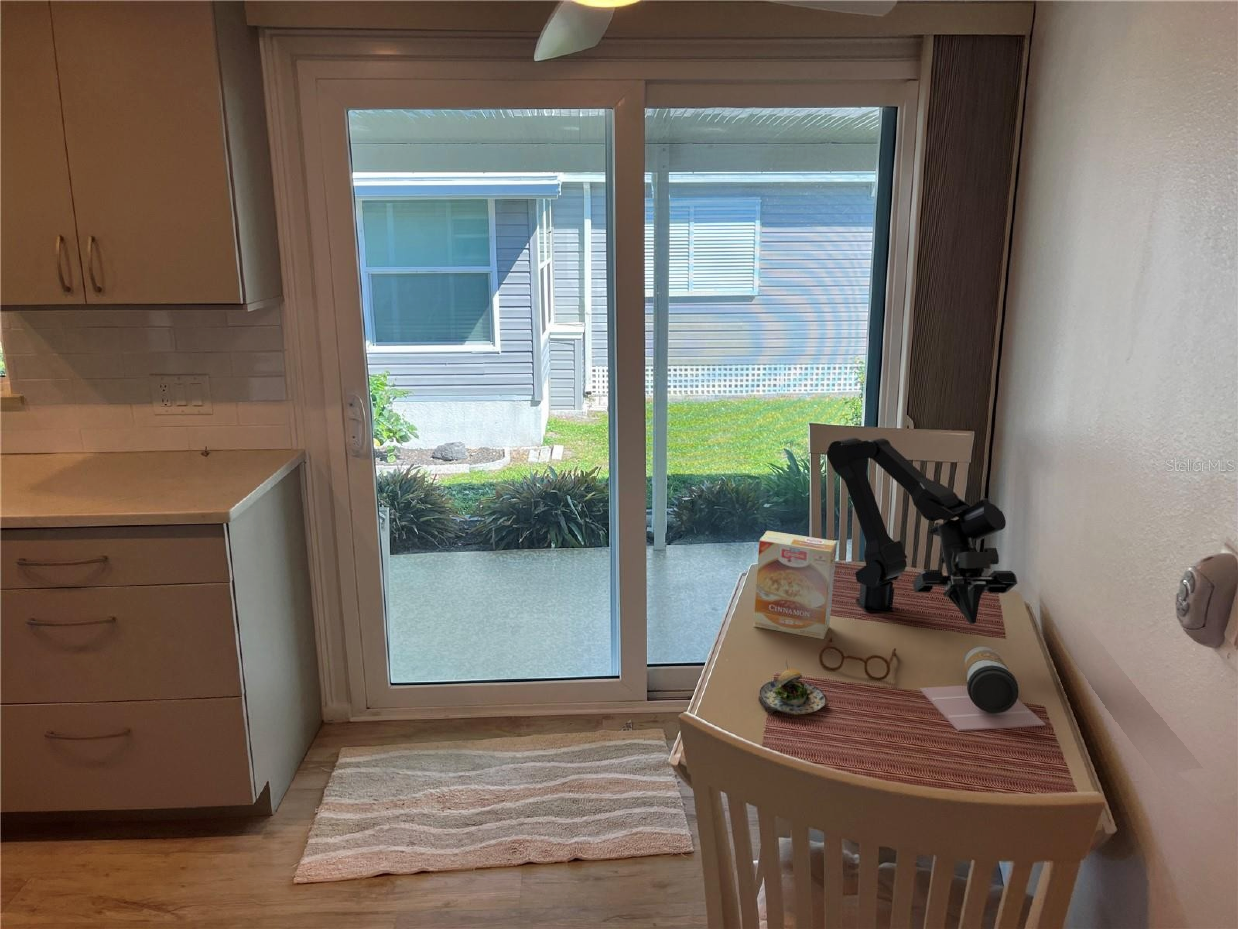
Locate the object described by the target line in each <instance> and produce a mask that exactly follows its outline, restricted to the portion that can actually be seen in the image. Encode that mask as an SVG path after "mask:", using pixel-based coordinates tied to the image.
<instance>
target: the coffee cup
mask: <svg viewBox="0 0 1238 929" xmlns="http://www.w3.org/2000/svg"><path fill="white" fill-rule="evenodd" d="M964 670H965V678H966V683H967V690H968V695H969V697H970V699H971V700H972V702H973V703H974V704H975V705H976V706H977V707H978V708H980V709H981V710H983V711H986V712H989V713H1002V712H1005V711H1007V710H1009V709H1010V708H1011V707H1012V706H1013V705H1014V704H1015V703H1016V700H1017V699H1018V698H1019V692H1020V690H1019V685H1018V681H1017V679H1016V677H1015V675H1013V674H1012V672H1011V671H1010V669H1009V667H1008V666H1007V665H1006V663H1005V662H1004V660H1003V659H1002V658H1001V656H1000V655H999V654H998V653H997V651H996V650H994V649H992V648H991V647H988V646H987V647H986V646H977V647H975V648H972V649H971V650H969V651H968V653H967V654H966V656H965V658H964Z"/></svg>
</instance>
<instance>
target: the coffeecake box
mask: <svg viewBox="0 0 1238 929" xmlns="http://www.w3.org/2000/svg"><path fill="white" fill-rule="evenodd" d="M758 541H759V542H758V543H759V544H758V552H757V553H758V554H757V566H756V567H757V568H756V569H757V570H756V583H755V598H754V612H753V613H754V614H753V627H754V628H755V627H756V628H760V629H765V630H771V631H777V632H783V633H787V634H793V635H799V636H804V637H809V638H816V639H821V640H824V639H825V637H826V634H827V632H828V630H829V627H830V623H831V611H832V601H833V591H834V578H835V568H836V559H837V558H836V557H837V546H838V541H837V540H831V539H824V538H819V537H818V538H817V537H813V536H804V535H800V534H799V535H798V534H794V533H793V534H791V533H785V532H778V531H771V530H766V531H765V533H764V534H763V536H761V537H760V539H759V540H758Z"/></svg>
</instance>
